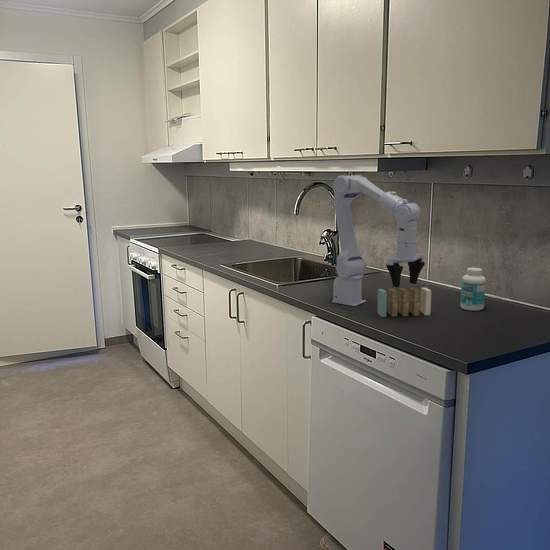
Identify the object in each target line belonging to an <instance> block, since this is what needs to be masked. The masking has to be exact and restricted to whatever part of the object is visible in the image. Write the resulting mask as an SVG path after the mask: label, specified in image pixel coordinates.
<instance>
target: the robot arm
mask: <svg viewBox="0 0 550 550" xmlns="http://www.w3.org/2000/svg"><path fill="white" fill-rule="evenodd" d="M332 189H333V194H334V195H333V207H334V213H335V219H336V225H337V232H338V239H339V244H340V245H339V246H340V250H341V251H340V252H339V254H338V255H337V257H336V268H335V269H336V274H337V275H338V276H337V277H335V279H334V280H333V285H332V286H333V288H332V289H333V293H332V295H333V298H332V301H331V303H334V304H340V305H341V304H342V305H346V306H351V307H357V306H359V305H361V304H365V303H366V302H367V300H366V299H362V287H363V286H362V283H363V280H362V279H363V277H364V274H365V273H366V271H367V269H368V267H367V263H366V261H365V258H364V254H363V253H362V252H361V251H360V250H359V249H358V246H357V241H356V235H355V234H356V233H355V226H354V221H353V215H352V214H353V213H352V209H351V207H352V206H351V204H352V203H353V201H354V200H355V199H356V198H357V197H359V196H360V194H362V193H363V194H365V195H366V196H368V197H370V198H372V199H374V200H376V201H377V202H379V207H380V208H382V209H383V210H385V211H386V212H388V213H389V214H391V215H393V216H394V219H395V222H396V227H397V236H396V237H397V239H396V255H394V256H391V257H387V258H386V264H385V267H386V268H387V270H388V273H389V275H390V278H391V282H392V283H391V284H392V286H393V287H395V288H399V287H400V284H401V277H402V272H403V269H404V266H403V265H400V264H405V263H407V266H408V271H409V284H413V285H416V284H417V282H418V279H419V276H420V274H421V271H422V269H423V268H424V266H425V265H426V264H425V263H426V262H425V254H423V253H416V250H417V233H418V232H417V229H418V221H419V220H420V219H421V216H422V208H421V207H420V205H418V204H417V203H416V202H409V200H408V199H407V198H402V197H401V196H399V195H397V194H398V193H397V192H396V191H386V192H385V191H384V190H382V189H381V188H379V187H378V186H376V185H375V184H374V183H372V182H371V181H370V180H368V178H367V177H365V176H363V175H361V174H356V175H355V174H354V175H343V174H342V175H338V176H337V177H336V178H335V179H334V182H333V183H332Z"/></svg>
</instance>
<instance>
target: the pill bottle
mask: <svg viewBox="0 0 550 550" xmlns="http://www.w3.org/2000/svg"><path fill="white" fill-rule="evenodd" d="M466 273H467V274H465V275H463V276H462V277H461V289H460V301H459V305H460V308H461V309H463V310H465V311H475V312H477V311H482V310H483V309H484V307H485V298H486V297H485V296H486V284H487V283H486V281H487V280H486V279H487V278H486V277H485V276H484V275H482V273H483V268H479V267H467V268H466Z"/></svg>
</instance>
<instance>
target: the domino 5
mask: <svg viewBox="0 0 550 550" xmlns="http://www.w3.org/2000/svg"><path fill="white" fill-rule="evenodd" d="M420 289H421V290H420V310H419V313H422V315H424V316H430V315H431V305H432V290H431V289H429V288H428V287H421V288H420Z"/></svg>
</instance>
